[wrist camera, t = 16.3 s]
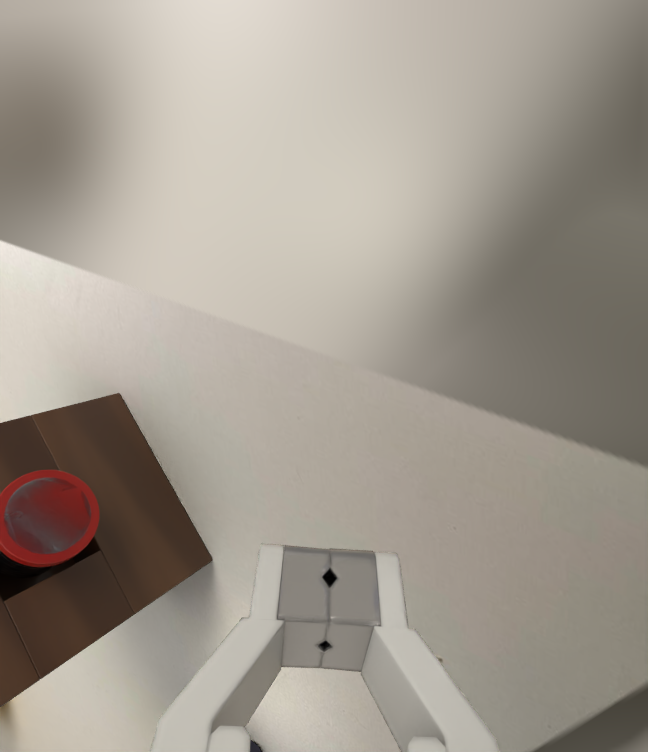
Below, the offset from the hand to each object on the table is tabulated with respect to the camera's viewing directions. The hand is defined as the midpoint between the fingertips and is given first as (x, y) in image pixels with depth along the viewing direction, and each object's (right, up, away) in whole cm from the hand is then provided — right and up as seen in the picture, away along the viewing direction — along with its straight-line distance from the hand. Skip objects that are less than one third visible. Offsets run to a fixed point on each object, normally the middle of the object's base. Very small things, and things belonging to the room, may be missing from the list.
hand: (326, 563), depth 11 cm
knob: (-15, -4, +18) cm, 24 cm away
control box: (-14, -5, +26) cm, 30 cm away
